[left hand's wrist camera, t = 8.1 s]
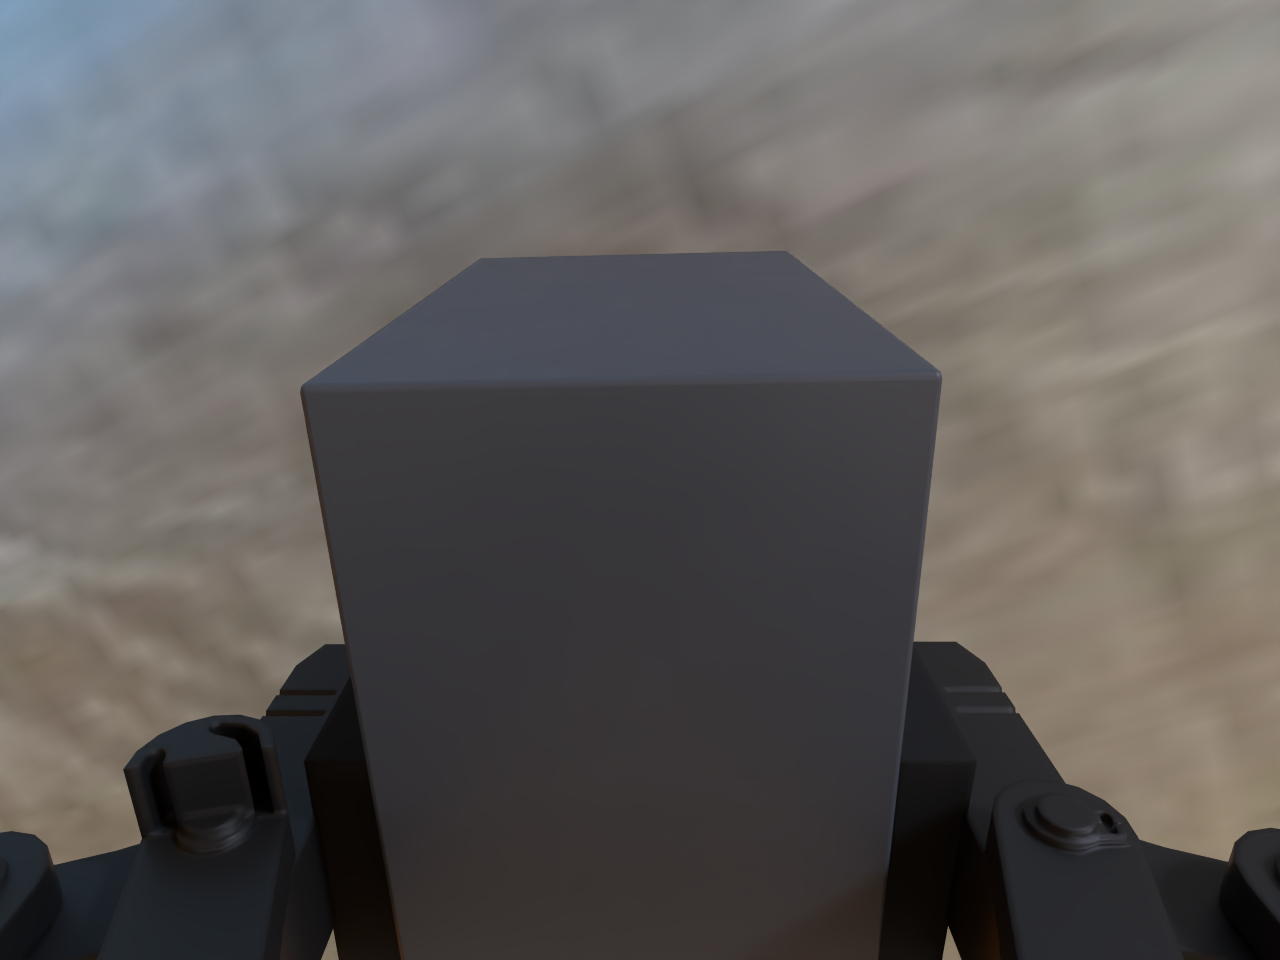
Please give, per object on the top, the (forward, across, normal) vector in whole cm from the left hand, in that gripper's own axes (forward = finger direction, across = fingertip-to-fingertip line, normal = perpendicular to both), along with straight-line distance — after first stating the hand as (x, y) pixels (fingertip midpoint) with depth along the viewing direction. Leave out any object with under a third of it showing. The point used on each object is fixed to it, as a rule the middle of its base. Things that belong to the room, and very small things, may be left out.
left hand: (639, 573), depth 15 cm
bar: (+1, +1, -32) cm, 32 cm away
